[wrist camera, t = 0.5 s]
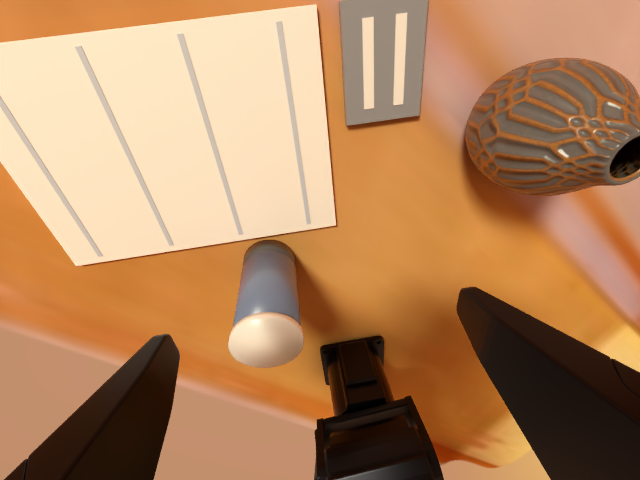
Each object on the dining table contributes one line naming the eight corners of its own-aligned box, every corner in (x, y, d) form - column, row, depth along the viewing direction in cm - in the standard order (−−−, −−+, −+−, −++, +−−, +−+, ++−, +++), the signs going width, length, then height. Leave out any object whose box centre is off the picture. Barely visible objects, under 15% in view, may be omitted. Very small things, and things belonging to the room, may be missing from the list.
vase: (427, 141, 20) (517, 194, 12) (504, 31, 17) (683, 14, 9) (494, 184, 22) (603, 250, 15) (572, 95, 19) (755, 121, 12)
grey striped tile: (416, 114, 18) (419, 115, 18) (345, 124, 18) (347, 126, 18) (425, -9, 15) (429, -10, 15) (338, 2, 15) (340, 0, 15)
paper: (335, 223, 22) (336, 225, 22) (78, 263, 21) (75, 266, 21) (315, 5, 15) (316, 4, 15) (-73, 52, 14) (-80, 52, 14)
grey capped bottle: (299, 276, 24) (308, 360, 18) (249, 284, 24) (239, 372, 18) (291, 234, 22) (297, 313, 15) (236, 243, 22) (218, 326, 15)
